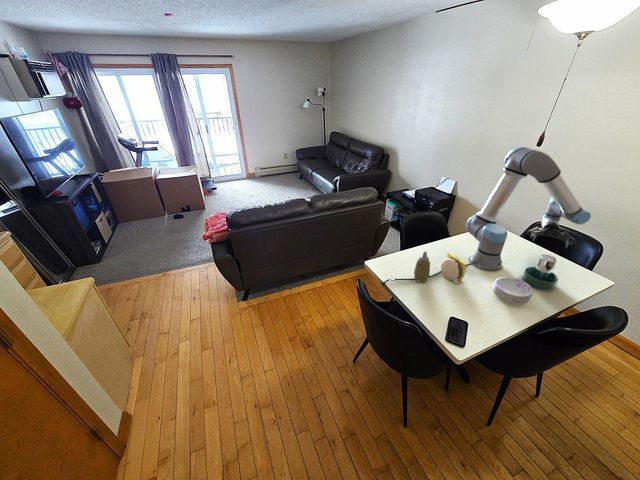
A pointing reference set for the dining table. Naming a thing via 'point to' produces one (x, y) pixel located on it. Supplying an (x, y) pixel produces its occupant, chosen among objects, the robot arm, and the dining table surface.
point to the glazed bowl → (539, 284)
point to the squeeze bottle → (422, 268)
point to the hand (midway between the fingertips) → (550, 243)
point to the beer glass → (544, 267)
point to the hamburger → (453, 268)
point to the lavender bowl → (512, 290)
